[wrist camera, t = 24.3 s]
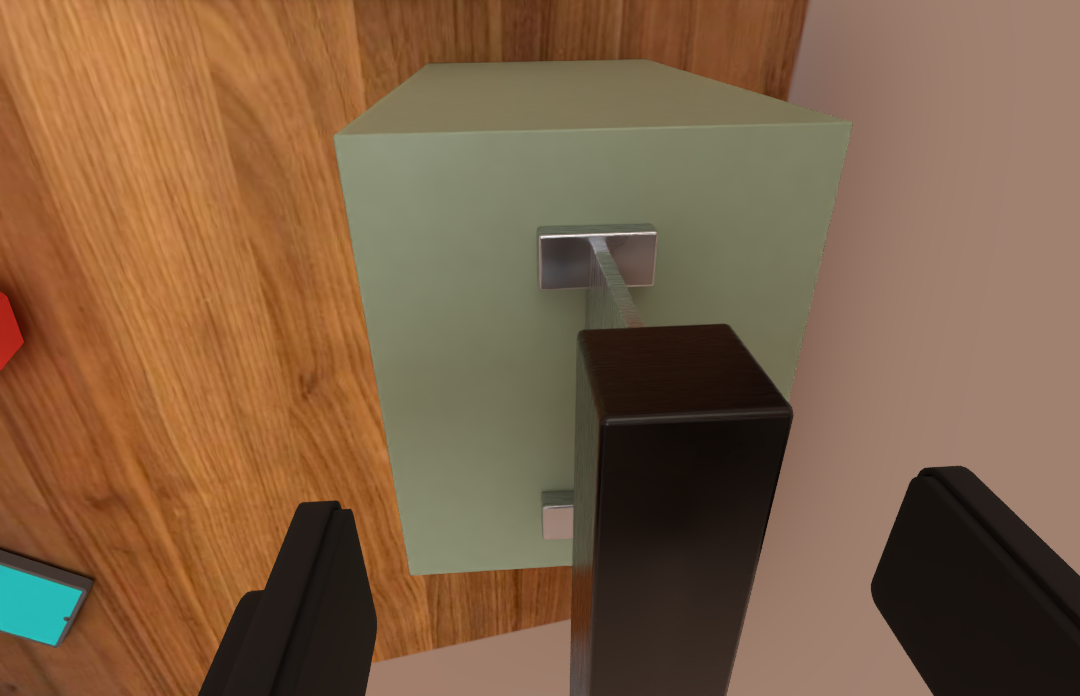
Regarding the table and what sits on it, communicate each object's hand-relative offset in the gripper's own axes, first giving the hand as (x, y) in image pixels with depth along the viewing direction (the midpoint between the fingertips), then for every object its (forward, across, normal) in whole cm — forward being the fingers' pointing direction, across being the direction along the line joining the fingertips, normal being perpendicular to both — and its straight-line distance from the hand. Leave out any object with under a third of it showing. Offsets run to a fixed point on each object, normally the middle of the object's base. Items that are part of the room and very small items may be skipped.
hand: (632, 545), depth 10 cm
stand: (+23, 0, 0) cm, 23 cm away
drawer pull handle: (+5, 0, 0) cm, 5 cm away
